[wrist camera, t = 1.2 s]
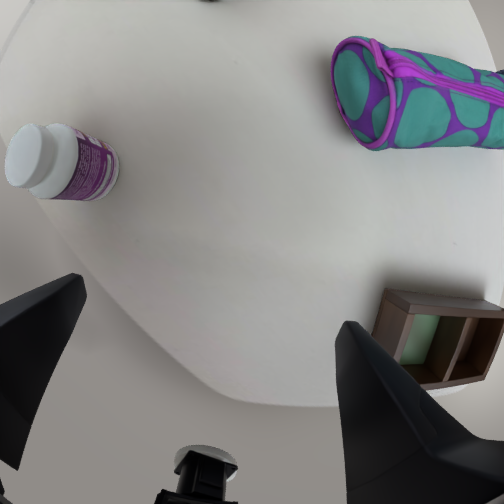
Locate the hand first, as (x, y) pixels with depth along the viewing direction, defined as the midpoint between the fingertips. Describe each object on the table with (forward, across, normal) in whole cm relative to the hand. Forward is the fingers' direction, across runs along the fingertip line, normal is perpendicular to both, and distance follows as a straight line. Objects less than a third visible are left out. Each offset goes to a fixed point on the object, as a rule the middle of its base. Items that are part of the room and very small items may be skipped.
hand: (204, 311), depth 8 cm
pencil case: (+18, -16, -10) cm, 26 cm away
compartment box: (+11, -21, +9) cm, 25 cm away
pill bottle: (+14, +13, 0) cm, 19 cm away
